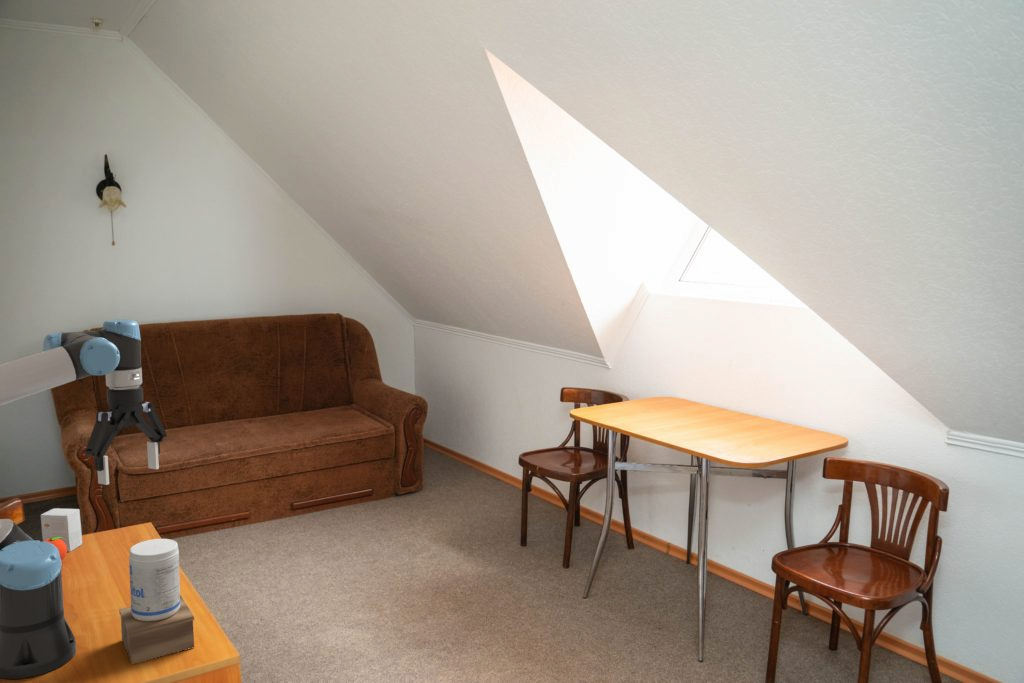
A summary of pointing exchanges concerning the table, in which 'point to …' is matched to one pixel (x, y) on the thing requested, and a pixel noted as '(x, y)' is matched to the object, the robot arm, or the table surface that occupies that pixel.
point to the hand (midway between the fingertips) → (129, 476)
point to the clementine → (59, 546)
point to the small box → (62, 526)
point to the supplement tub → (154, 579)
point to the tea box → (157, 634)
